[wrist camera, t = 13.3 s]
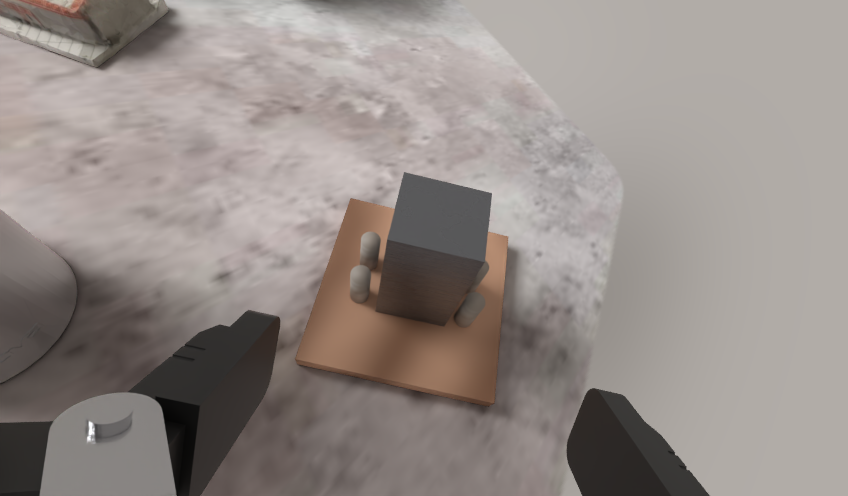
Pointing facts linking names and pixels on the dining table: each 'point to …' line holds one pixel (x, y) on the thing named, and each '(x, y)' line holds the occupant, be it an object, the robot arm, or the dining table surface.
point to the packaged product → (79, 25)
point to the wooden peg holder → (403, 320)
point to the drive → (432, 249)
